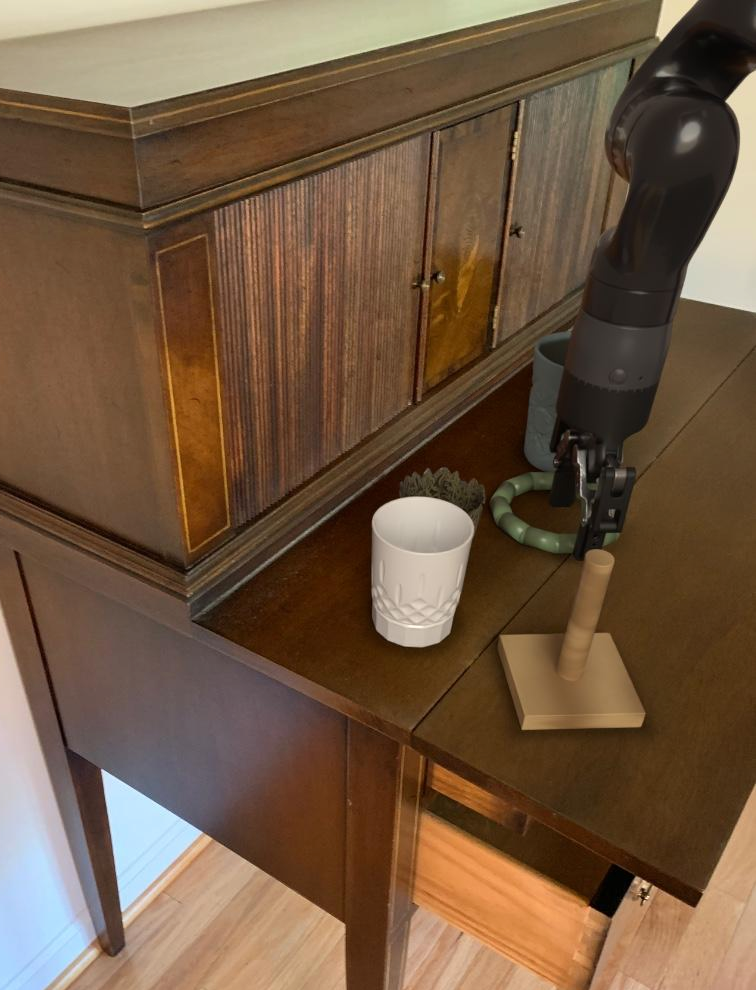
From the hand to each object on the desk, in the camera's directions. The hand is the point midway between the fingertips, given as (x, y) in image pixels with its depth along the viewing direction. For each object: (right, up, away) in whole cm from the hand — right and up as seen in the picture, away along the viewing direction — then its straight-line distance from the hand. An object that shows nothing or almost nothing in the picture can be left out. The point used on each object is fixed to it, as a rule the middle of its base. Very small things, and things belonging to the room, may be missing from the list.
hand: (571, 530), depth 84 cm
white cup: (-15, -8, -6) cm, 19 cm away
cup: (-13, -3, 0) cm, 13 cm away
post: (-4, -13, -12) cm, 18 cm away
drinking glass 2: (+4, +9, +15) cm, 18 cm away
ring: (0, +2, +5) cm, 6 cm away
